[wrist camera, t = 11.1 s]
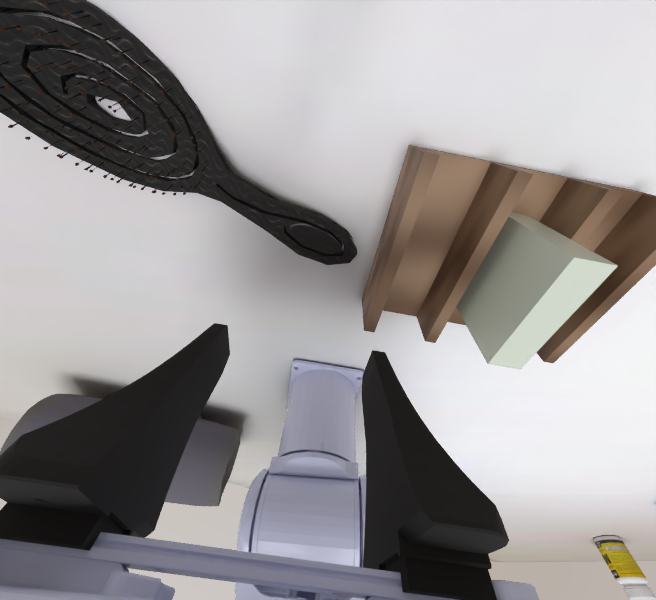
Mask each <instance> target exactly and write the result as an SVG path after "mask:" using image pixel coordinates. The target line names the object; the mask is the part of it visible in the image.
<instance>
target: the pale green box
mask: <svg viewBox="0 0 656 600" xmlns="http://www.w3.org/2000/svg"><path fill="white" fill-rule="evenodd" d="M617 267H618V265H616V264H614V263H612V262H611V261H609V260H607V259H605V258H603V257H602V256H600V255H598V254H596V253H594V252H593V251H591V250H589V249H587V248H585V247H584V246H582V245H580V244H578V243H576V242H575V241H573V240H571V239H569V238H567V237H566V236H564V235H562V234H560V233H558V232H557V231H555V230H553V229H551V228H549V227H548V226H546V225H544V224H542V223H540V222H539V221H537V220H535V219H533V218H531V217H530V216H528V215H524V214H519V213H514V212H511V214H510V215H509V217H508V219H507V221H506V222H505V224H504V226H503V227H502V229H501V231H500V233H499V234H498V236H497V238H496V239H495V241H494V243H493V244H492V246H491V248H490V250H489V251H488V253H487V255H486V256H485V258H484V260H483V262H482V263H481V265H480V267H479V268H478V270H477V272H476V274H475V275H474V277H473V279H472V280H471V282H470V284H469V286H468V287H467V289H466V291H465V292H464V294H463V296H462V298H461V299H460V301H459V303H458V304H457V306H456V308H457V309H458V311H459V313H460V315H461V317H462V318H463V320H464V322H465V324H466V326H467V327H468V329H469V331H470V333H471V335H472V336H473V338H474V340H475V342H476V344H477V345H478V347H479V349H480V351H481V353H482V354H483V356H484V358H485V360H486V361H487V363H488V364H492V365H497V366H503V367H509V368H515V369H521V368H522V367H523V366H524V365H525V364H526V363H527V362H528V361H529V360H530V359H531V358H532V357H533V356H534V354H535V353H536V352H537V351H538V350H539V349H540V348H541V347H542V346H543V345H544V344H545V343H546V342H547V341H548V340H549V339H550V338H551V336H552V335H553V334H554V333H555V332H556V331H557V330H558V329H559V328H560V327H561V326H562V325H563V324H564V323H565V322H566V321H567V320H568V318H569V317H570V316H571V315H572V314H573V313H574V312H575V311H576V310H577V309H578V308H579V307H580V306H581V305H582V304H583V303H584V302H585V300H586V299H587V298H588V297H589V296H590V295H591V294H592V293H593V292H594V291H595V290H596V289H597V288H598V287H599V286H600V285H601V284H602V282H603V281H604V280H605V279H606V278H607V277H608V276H609V275H610V274H611V273H612V272H613V271H614V270H615V269H616V268H617Z"/></svg>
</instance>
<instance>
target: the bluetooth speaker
mask: <svg viewBox="0 0 656 600" xmlns="http://www.w3.org/2000/svg"><path fill="white" fill-rule="evenodd" d="M103 399H104V398H103ZM100 400H102V398H96V397H90V396H83V395H73V394H55V395H51V396H49V397H46V398H44V399H43V400H41V401H39V402H38V403H36V404H35V405H34V406H32V407H31V408H30V409H29V410H27V412H26V413H25V414H24V415H23V417H22V418H21V419H20V420H19V422H18V423H17V424H16V426H15V427H14V428H13V430H12V431H11V433H10V434H9V436H8V438H7V439H6V441H5V443H4V445H3V447H2V448H1V451H0V455H1V454H2V453H3V452H4V451H5V450H6V449H7V448H8V447H9V446H11V445H12V444H13V443H14V442H15V441H16V440H17V439H18V438H19V437H20V436H21V435H23V434H26V433H28V432H31V431H33V430H36V429H38V428H40V427H43V426H45V425H48V424H50V423H52V422H55V421H57V420H60V419H62V418H64V417H66V416H69V415H71V414H73V413H75V412H77V411H79V410H82V409H84V408H86V407H88V406H90V405H92V404H94V403H96V402H98V401H100ZM241 432H242V431H240V430H238V429H235V428H233V427H230V426H227V425H223V424H219V423H216V422H212V421H209V420H205V419H202V416H201V414H200V416H199V418H198V420H197V422H196V424H195V426H194V428H193V431H192V433H191V435H190V438H189V440H188V442H187V445H186V447H185V450H184V452H183V454H182V457H181V459H180V462H179V464H178V467H177V469H176V472H175V475H174V477H173V480H172V482H171V485H170V488H169V490H168V493H167V496H166V499H165V501H164V502H170V503H178V504H187V505H195V506H219V504H220V501H221V496H222V493H223V491H224V488H225V486H226V483H227V481H228V479H229V477H230V475H231V472H232V469H233V466H234V462H235V459H236V456H237V452H238V449H239V445H240V435H241Z"/></svg>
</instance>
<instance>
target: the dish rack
mask: <svg viewBox="0 0 656 600" xmlns="http://www.w3.org/2000/svg"><path fill="white" fill-rule="evenodd" d="M511 212H514V213H519V214H524V215H528V216H530V217H531V218H533V219H535V220H537V221H539V222H540V223H542V224H544V225H546V226H548V227H549V228H551V229H553V230H555V231H557V232H558V233H560V234H562V235H564V236H566V237H567V238H569V239H571V240H573V241H575V242H576V243H578V244H580V245H582V246H584V247H585V248H587V249H589V250H591V251H593V252H594V253H596V254H598V255H600V256H602V257H603V258H605V259H607V260H609V261H611V262H612V263H614V264H616V265H618V267H617V268H616V269H615V270H614V271H613V272H612V273H611V274H610V275H609V276H608V277H607V278H606V279H605V280H604V281H603V282H602V284H601V285H600V286H599V287H598V288H597V289H596V290H595V291H594V292H593V293H592V294H591V295H590V296H589V297H588V298H587V299H586V300H585V302H584V303H583V304H582V305H581V306H580V307H579V308H578V309H577V310H576V311H575V312H574V313H573V314H572V315H571V316H570V317H569V318H568V320H567V321H566V322H565V323H564V324H563V325H562V326H561V327H560V328H559V329H558V330H557V331H556V332H555V333H554V334H553V335H552V336H551V338H550V339H549V340H548V341H547V342H546V343H545V344H544V345H543V346H542V347H541V348H540V349H539V350H538V351H537V354H538V355H539V356H540V357H541V359H542V360H543V361H544V362H549V363H554V362H555V361H556V360H557V359H558V358H559V357H560V356H561V355H562V354H563V353H564V352H566V351H567V350H568V349H569V348H570V347H571V346H572V345H573V344H574V343H575V342H576V341H577V340H578V339H579V338H580V337H581V336H582V335H583V334H584V333H585V332H586V331H587V330H588V329H589V328H590V327H592V326H593V325H594V324H595V323H596V322H597V321H598V320H599V319H600V318H601V317H602V316H603V315H604V314H605V313H606V312H607V311H608V310H609V309H610V308H611V307H612V306H613V305H614V304H615V303H616V302H617V301H619V300H620V299H621V298H622V297H623V296H624V295H625V294H626V293H627V292H628V291H629V290H630V289H631V288H632V287H633V286H634V285H635V284H636V283H637V282H638V281H639V280H640V279H641V278H642V277H643V276H645V275H646V274H647V273H648V272H649V271H650V270H651V269H652V268H653V267H654V266H655V265H656V196H654V195H650V194H647V193H643V192H638V191H634V190H629V189H624V188H619V187H614V186H609V185H604V184H599V183H594V182H589V181H584V180H579V179H574V178H570V177H565V176H560V175H555V174H550V173H545V172H540V171H535V170H530V169H525V168H520V167H515V166H510V165H506V164H501V163H496V162H491V161H486V160H481V159H476V158H471V157H466V156H461V155H456V154H451V153H446V152H442V151H437V150H432V149H427V148H422V147H417V146H412V145H409V147H408V150H407V153H406V157H405V160H404V163H403V167H402V170H401V173H400V176H399V180H398V183H397V186H396V190H395V193H394V196H393V200H392V203H391V206H390V209H389V213H388V216H387V219H386V223H385V226H384V229H383V233H382V236H381V239H380V242H379V246H378V249H377V252H376V256H375V259H374V262H373V265H372V269H371V272H370V275H369V279H368V282H367V285H366V289H365V292H364V295H363V298H362V307H363V323H364V331H370V332H375V329H376V326H377V324H378V321H379V318H380V316H381V313H382V310H384V311H389V312H395V313H401V314H406V315H412V316H417V318H418V321H419V324H420V327H421V330H422V333H423V336H424V339H425V341H428V342H434V343H435V342H436V340H437V339H438V337H439V335H440V334H441V332H442V330H443V328H444V327H445V325H446V323H447V322H452V323H457V324H463V325H466V324H465V322H464V320H463V318H462V317H461V315H460V313H459V311H458V309H457V308H456V306H457V304H458V303H459V301H460V299H461V298H462V296H463V294H464V292H465V291H466V289H467V287H468V286H469V284H470V282H471V280H472V279H473V277H474V275H475V274H476V272H477V270H478V268H479V267H480V265H481V263H482V262H483V260H484V258H485V256H486V255H487V253H488V251H489V250H490V248H491V246H492V244H493V243H494V241H495V239H496V238H497V236H498V234H499V233H500V231H501V229H502V227H503V226H504V224H505V222H506V221H507V219H508V217H509V215H510V214H511Z"/></svg>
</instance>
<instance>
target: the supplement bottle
mask: <svg viewBox="0 0 656 600" xmlns="http://www.w3.org/2000/svg"><path fill="white" fill-rule="evenodd" d="M594 542H595V544H596V546H597V548H598V549H599V551H600V553H601V554H602V556H603V558H604V560H605V561H606V563H607V565H608V567H609V568H610V570H611V572H612V574H613V575H614V577H615V579H616V580H617V582H618V583H620V584H621V585H623V586H624V588H623V589H624V591H625V592H626V594H627V596H628V597H629V599H631V600H656V597H655V595H654V593H653V592H652V590H651V589H650V588H649V587H647V584H648V581H647V579H646V577H645V576H644V574H643V572H642V571H641V569H640V568H639V566H638V565H637V563H636V561H635V560H634V558H633V557H632V555H631V554H630V552H629V550H628V549H627V547H626V546H625V544H624V543H623V541H622V539H621V538H619V537H617V536H599V537H596V538H594Z"/></svg>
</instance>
